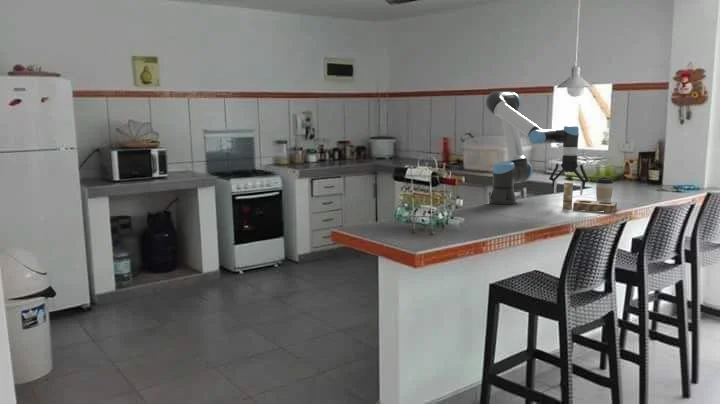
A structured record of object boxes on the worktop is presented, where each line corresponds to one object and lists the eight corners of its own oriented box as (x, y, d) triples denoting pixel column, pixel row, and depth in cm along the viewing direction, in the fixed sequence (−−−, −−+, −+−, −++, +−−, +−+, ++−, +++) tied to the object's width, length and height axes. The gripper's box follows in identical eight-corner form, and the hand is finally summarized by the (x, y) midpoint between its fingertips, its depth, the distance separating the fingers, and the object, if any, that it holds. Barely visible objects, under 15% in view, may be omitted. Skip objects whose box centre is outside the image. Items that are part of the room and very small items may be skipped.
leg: (562, 208, 317) (563, 182, 314) (564, 207, 320) (565, 181, 318) (570, 208, 315) (571, 183, 312) (571, 207, 318) (573, 182, 316)
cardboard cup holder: (573, 210, 310) (573, 202, 310) (576, 206, 321) (577, 199, 320) (613, 213, 300) (614, 205, 300) (616, 209, 311) (616, 202, 310)
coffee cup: (613, 206, 321) (615, 179, 318) (596, 205, 322) (598, 179, 320) (610, 203, 329) (611, 177, 327) (593, 203, 331) (594, 177, 329)
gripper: (544, 154, 315) (543, 193, 319) (593, 156, 303) (591, 196, 307) (547, 153, 322) (545, 191, 325) (595, 155, 310) (593, 194, 313)
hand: (568, 193), depth 316 cm, fingers open, 13 cm apart
